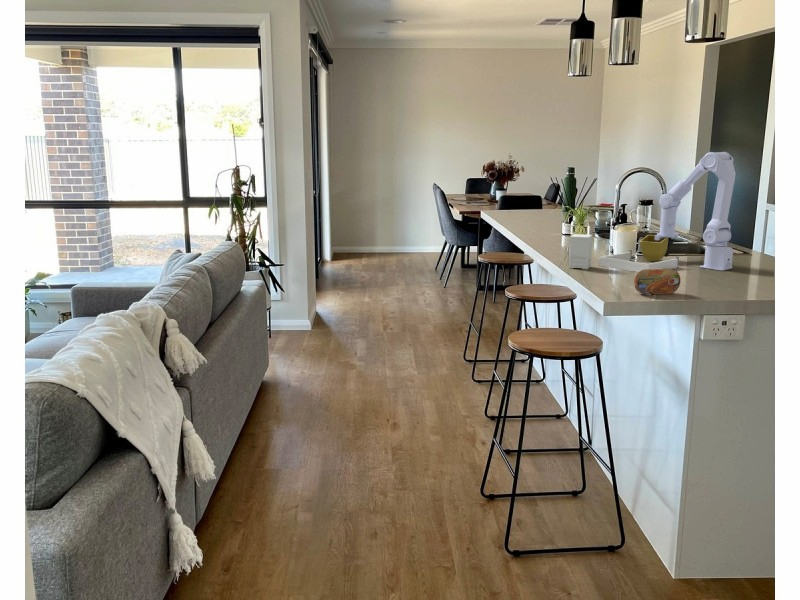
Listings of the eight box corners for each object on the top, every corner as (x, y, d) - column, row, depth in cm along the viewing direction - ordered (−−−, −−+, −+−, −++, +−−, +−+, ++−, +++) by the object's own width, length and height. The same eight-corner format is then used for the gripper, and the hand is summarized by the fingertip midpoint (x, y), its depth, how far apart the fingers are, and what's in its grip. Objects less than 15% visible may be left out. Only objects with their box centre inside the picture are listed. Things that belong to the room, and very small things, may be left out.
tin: (636, 296, 221) (638, 269, 219) (631, 293, 224) (633, 268, 222) (680, 294, 223) (682, 268, 222) (674, 292, 226) (676, 266, 225)
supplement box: (591, 266, 272) (593, 234, 269) (587, 269, 265) (589, 237, 262) (572, 265, 275) (573, 233, 272) (568, 268, 268) (570, 235, 266)
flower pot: (639, 261, 285) (639, 240, 282) (648, 254, 291) (647, 234, 288) (660, 264, 280) (660, 242, 276) (669, 256, 286) (669, 236, 282)
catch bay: (677, 267, 270) (678, 256, 269) (647, 273, 258) (648, 262, 257) (629, 260, 287) (630, 249, 286) (598, 265, 274) (599, 254, 273)
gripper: (668, 221, 291) (665, 253, 294) (649, 223, 283) (646, 256, 286) (684, 222, 286) (681, 255, 289) (664, 225, 277) (661, 259, 280)
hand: (664, 256), depth 287 cm, fingers closed
